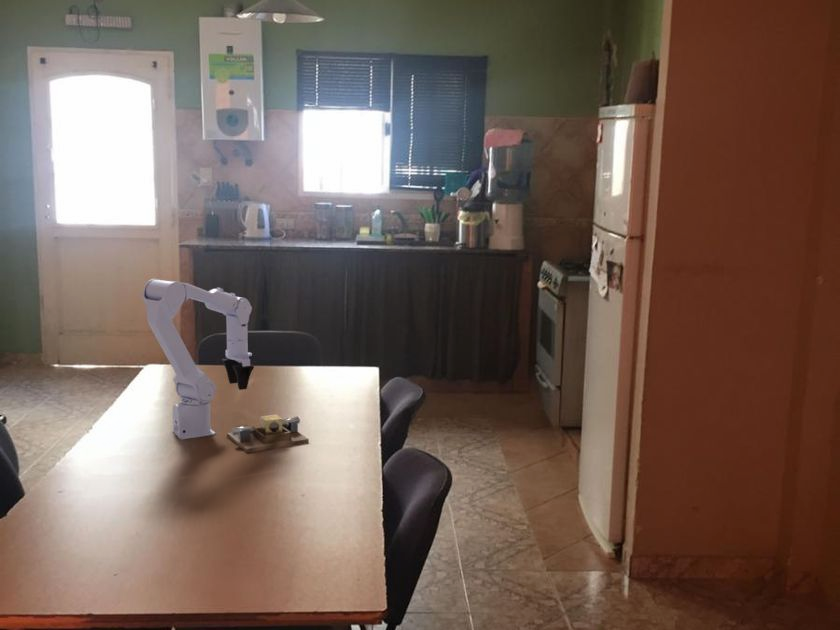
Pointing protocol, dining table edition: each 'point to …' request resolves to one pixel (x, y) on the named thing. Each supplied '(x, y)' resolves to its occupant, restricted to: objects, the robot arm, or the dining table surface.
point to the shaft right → (291, 424)
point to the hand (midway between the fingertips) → (238, 386)
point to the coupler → (270, 424)
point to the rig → (269, 440)
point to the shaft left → (244, 433)
